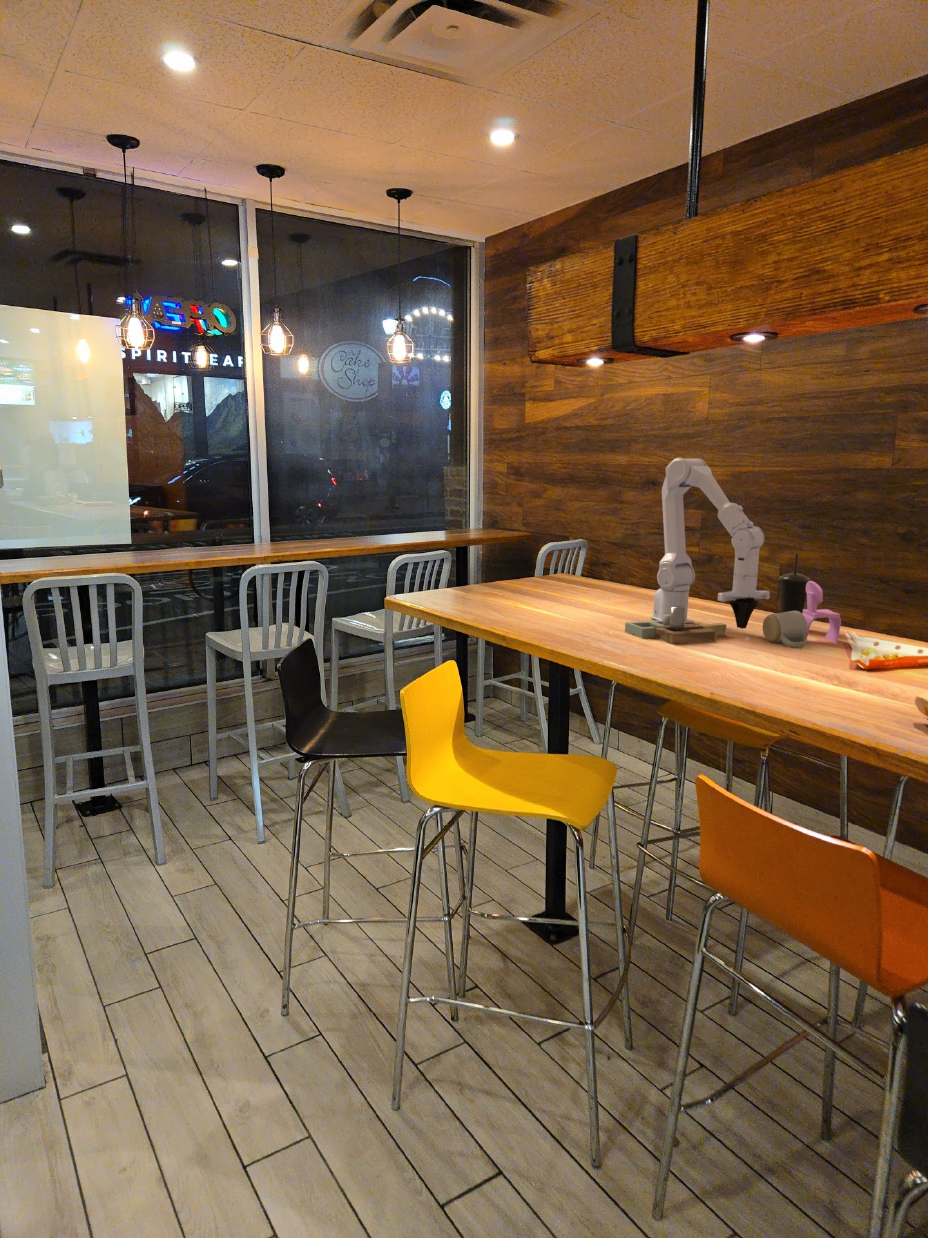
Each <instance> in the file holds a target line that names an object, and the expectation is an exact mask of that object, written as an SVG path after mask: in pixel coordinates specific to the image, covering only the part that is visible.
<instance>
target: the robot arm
mask: <svg viewBox="0 0 928 1238" xmlns="http://www.w3.org/2000/svg"><path fill="white" fill-rule="evenodd" d="M692 487H695V488H698V489H700V490H701V491H702V492H703V494H704V495H705V496H706V497H707V498H708V500H709V501H710V502H711V503H712V504H713V505H714V507H715V508H716V509H717V511H718V512H717V518H718V520H719V521H720V522H721V524H722V525H723V527H724V528H725V529H726V530H727V532H728V533H729V535H730V537H732V538H731V545H732V547H733V549H734V565H733V567H734V568H733V580H732V590H729V591H724V592H723V591H722V592H718V593H717V601H719V602H723V603H724V602H726V601H727V602H729V604H730V607H731V608H732V611H733V614H734V618H735V622H736V628H738V629H747V625H748V624H749V621H750V617H751V616H752V615H753V614H752V613H753V612H754V611H755V609H756V607H757V606H758V604H759V603H758V602H759V601H758V600H760V599H761V600H763V599H764V600H769V599H770V595H771V594H770V593H771V592H770V591H769V590H757V586H758V576H759V575H758V572H759V559H760V548H761V547H762V546H763V545H764V543H765V540H766V536H765V534H764V532H763V529H762V527H761V528H760V527H759V526H755V525H754V522H753V521H751V520H750V519H749V518H748V516H747V515H746V514H745V513H744V511H743V510H744V507H743V506H742V505H739V504H738V503H736V502H730V500H729V499H728V497H727V496H726V494H725V492H724V491H723V489H722V488H721V486H720V485H719V484H718V481H717V480H716V478H715V477H714V476H713V472H712V469H711V468H710V467H709V466H708V465H707V463H706V461H705V460H704V459H702V458H699V457H697V458H696V457H695V458H683V457H676V458H674V459H673V460H672V461H670V463H669V464H668V465H667V466H666V467H665V477H664V481H663V484H662V487H661V503H662V519H663V522H662V523H663V541H664V542H663V543H664V556H663V557H662V558H661V559H660V561H659V564H658V565H659V566H658V571H657V573H656V574H657V575H656V579H657V584H658V585H659V586H660V588H659V589H657V590H656V591H655V593H654V598H653V610H652V611H653V614H652V616H650V619H652V620H654V621H658V620H663V614H671V606H682V607H685V618H684V624H694V620H692V619H688V612H689V611H688V608H689V595H690V594H689V593H690V589H691V585H692V584H693V583H694V582H695V579H696V573H695V570H694V567H693V565H692V559H691V558H690V556H689V555H688V554H687V549H686V548H687V547H686V531H685V529H686V527H685V513H684V512H685V510H684V495H685V493H687V492H688V491H689V490H690V489H691V488H692Z"/></svg>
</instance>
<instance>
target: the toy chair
mask: <svg viewBox="0 0 928 1238" xmlns="http://www.w3.org/2000/svg"><path fill="white" fill-rule="evenodd" d="M806 593H807V594H806V603H807V604H806V605H807V606H806V607H807V608H804V609H803V613H802V614H803V616H804V617H805V620H806V623H807V633H806V639H807V640H806V643H805V645H806V644H807V641H808V635H809V630H810V628H811V625H812V623H813V621H815V620H816V619H822V618H828V620H829V628H828V631H827V633H826V635H825V636H824V639H825V640H827V641H829V642H832V643H834V644H839V638H840V629H841V625H842V619H841V614H840V613H839V612H834V611H832V610H830V609H825V608H824V609H818V608H817V607H818V606H819V604H822V603H823V601H824V600H823V599H824V591H823V589H822V587H821V586H820V585H819V584H818V583H817V582H815V581H813V580H810V581H808V582H807V584H806ZM800 642H803V640H802V641H800Z"/></svg>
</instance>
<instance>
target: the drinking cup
mask: <svg viewBox="0 0 928 1238" xmlns="http://www.w3.org/2000/svg"><path fill="white" fill-rule="evenodd" d="M794 556H795V557H794V568H793V572H792V573H791V572H790V573H786V574H783V575H781V576H778V577H779V578H778V580H779V581H780V583H779V585H780V586H779V590H780V591H779V595H780V597H779V601H780V602H779V603H780V604H779V605H780V607H779V608H780V609H779V611H780V612H779V613H782V612H789V611H799V612H801V613H803V609H805V604H806V601H807V593H806V584H807V582H808V581H811V578H810V577H807V576H806V575H804V574H803V573H799V572H797V571H798V561H799V553H795V555H794Z"/></svg>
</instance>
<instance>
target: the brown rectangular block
mask: <svg viewBox="0 0 928 1238" xmlns="http://www.w3.org/2000/svg"><path fill="white" fill-rule="evenodd" d="M697 625H698V629H710V630H713V631H716V633H715V638H718V637H717V636H722V637H726V636H727V624H726V623H722V622H717V623H715V622H714V623H700V624H697Z"/></svg>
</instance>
